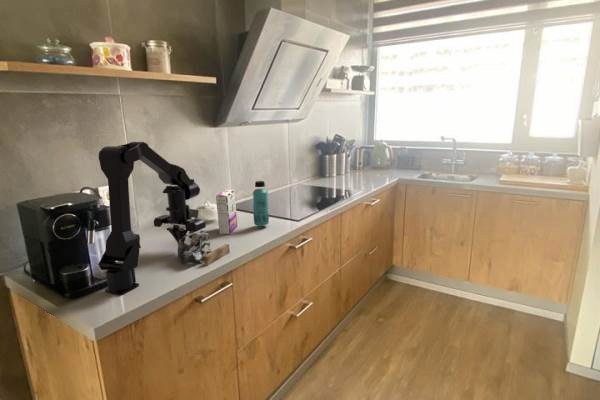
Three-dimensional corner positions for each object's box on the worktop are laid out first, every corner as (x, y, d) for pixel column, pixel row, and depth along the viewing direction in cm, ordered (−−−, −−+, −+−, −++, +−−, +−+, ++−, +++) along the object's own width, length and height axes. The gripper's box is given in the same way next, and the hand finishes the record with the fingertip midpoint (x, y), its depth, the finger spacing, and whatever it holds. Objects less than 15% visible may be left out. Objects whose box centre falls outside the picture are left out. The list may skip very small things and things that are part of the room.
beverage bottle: (251, 226, 156) (249, 180, 152) (266, 223, 159) (264, 179, 155) (257, 230, 151) (254, 183, 146) (271, 227, 154) (269, 181, 149)
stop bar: (207, 265, 116) (207, 256, 115) (204, 264, 117) (203, 256, 116) (229, 252, 127) (229, 244, 126) (226, 252, 127) (225, 244, 126)
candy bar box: (226, 226, 157) (223, 189, 153) (237, 226, 157) (235, 189, 153) (218, 234, 146) (215, 195, 142) (230, 234, 146) (227, 195, 142)
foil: (162, 251, 119) (190, 218, 127) (179, 271, 125) (205, 239, 134) (185, 257, 112) (213, 222, 121) (202, 277, 119) (228, 243, 127)
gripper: (213, 200, 127) (217, 241, 131) (173, 196, 135) (177, 235, 138) (192, 208, 117) (197, 252, 121) (150, 203, 125) (155, 245, 129)
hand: (181, 246), depth 128 cm, fingers closed
